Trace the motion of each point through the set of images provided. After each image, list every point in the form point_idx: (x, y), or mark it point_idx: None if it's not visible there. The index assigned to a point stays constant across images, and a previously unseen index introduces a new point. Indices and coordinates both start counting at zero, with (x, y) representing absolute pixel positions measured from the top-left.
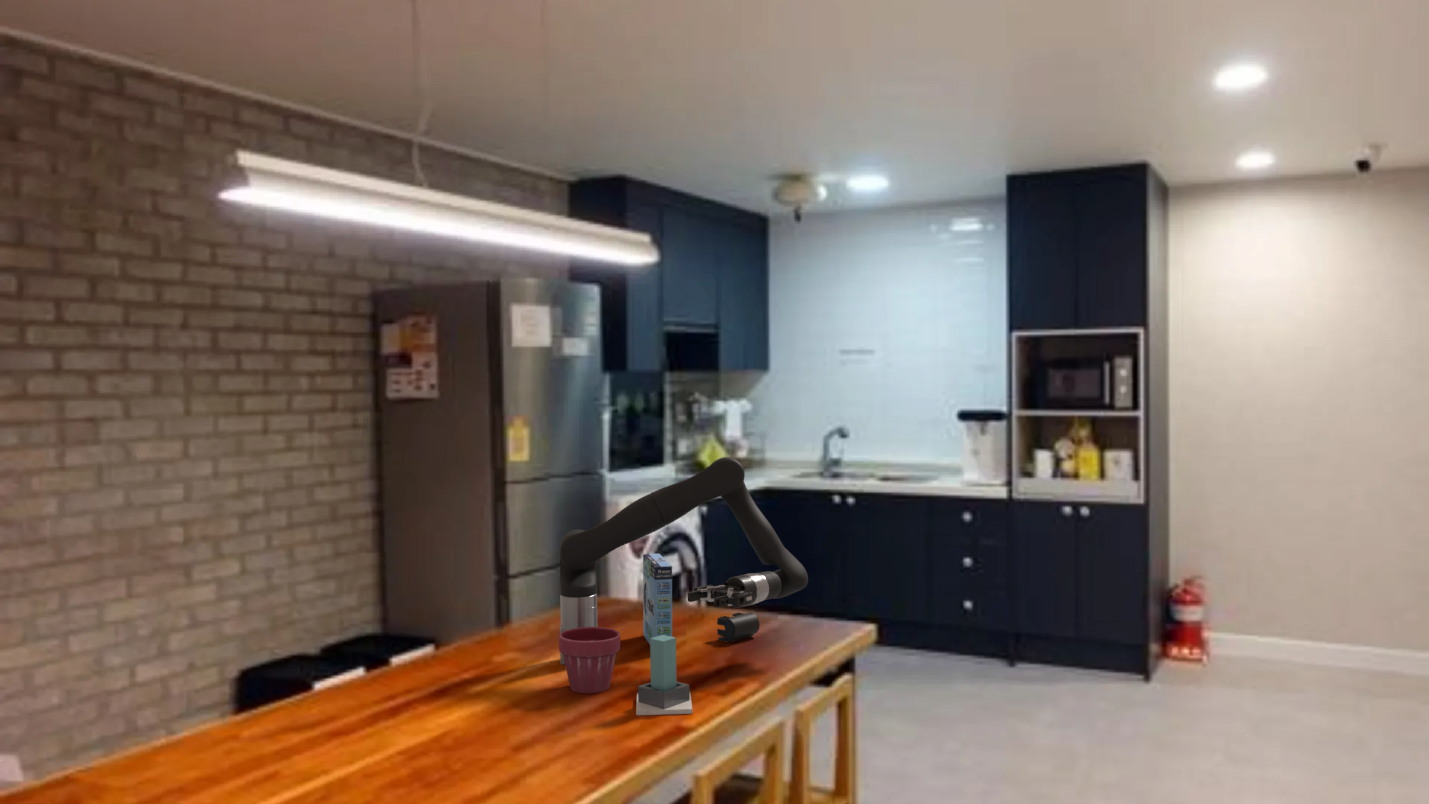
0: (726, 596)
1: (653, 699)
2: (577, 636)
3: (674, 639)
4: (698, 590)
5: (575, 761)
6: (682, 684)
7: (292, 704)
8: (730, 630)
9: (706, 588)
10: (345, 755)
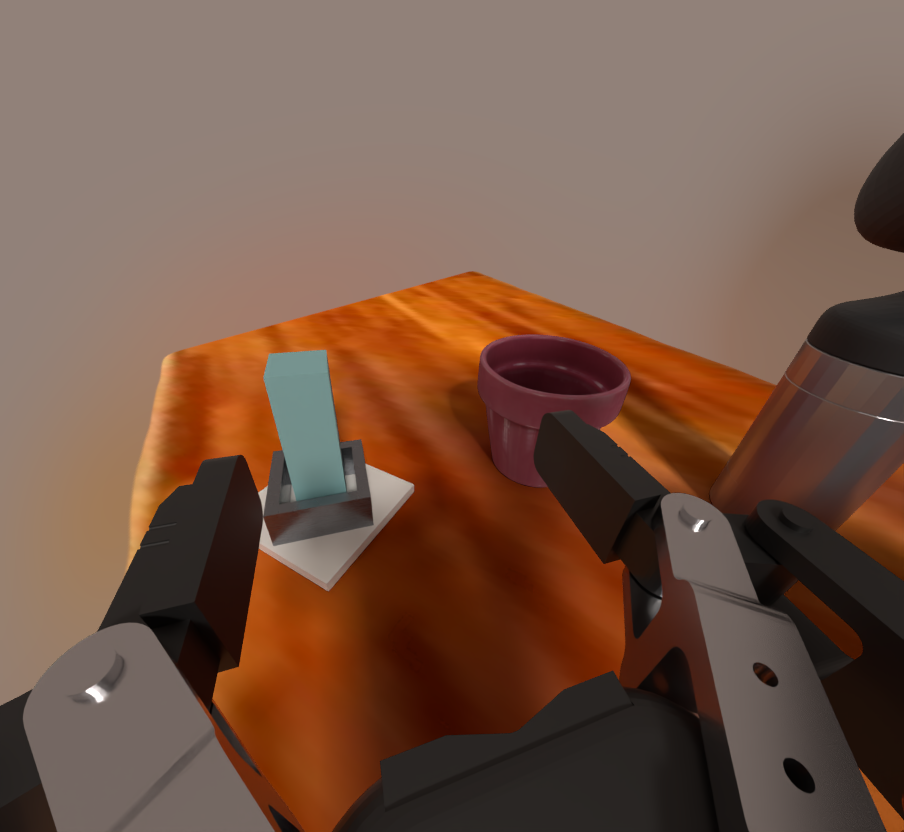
0: (143, 610)
1: None
2: (611, 380)
3: (265, 379)
4: (655, 493)
5: (255, 364)
6: (282, 504)
7: (580, 314)
8: None
9: (758, 605)
10: (431, 309)
